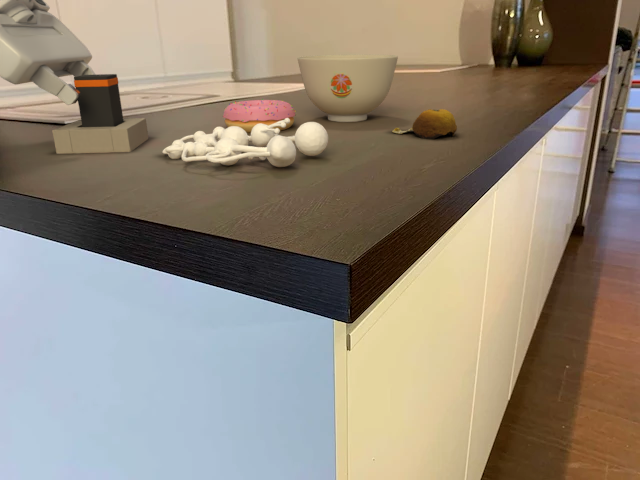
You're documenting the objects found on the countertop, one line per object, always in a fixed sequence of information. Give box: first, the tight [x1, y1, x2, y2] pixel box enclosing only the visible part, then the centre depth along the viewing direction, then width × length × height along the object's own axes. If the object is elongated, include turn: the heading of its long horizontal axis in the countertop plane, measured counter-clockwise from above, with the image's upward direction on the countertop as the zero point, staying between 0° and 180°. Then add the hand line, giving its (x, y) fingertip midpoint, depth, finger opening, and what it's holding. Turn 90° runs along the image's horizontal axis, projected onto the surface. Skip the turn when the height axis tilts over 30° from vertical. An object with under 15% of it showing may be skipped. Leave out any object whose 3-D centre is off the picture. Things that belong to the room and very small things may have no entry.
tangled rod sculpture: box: [161, 118, 329, 168], centre depth 61 cm, size 19×14×4 cm
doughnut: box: [222, 98, 297, 134], centre depth 81 cm, size 11×11×4 cm
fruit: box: [391, 108, 458, 140], centre depth 74 cm, size 8×8×4 cm
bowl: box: [297, 54, 399, 123], centre depth 88 cm, size 16×16×10 cm
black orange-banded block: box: [73, 73, 124, 127], centre depth 69 cm, size 4×4×9 cm
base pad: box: [52, 117, 149, 155], centre depth 70 cm, size 9×9×3 cm
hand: (90, 96), depth 68 cm, fingers open, 8 cm apart
